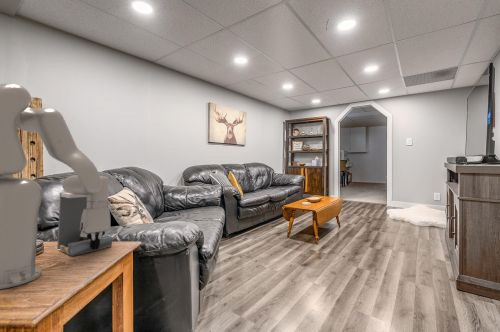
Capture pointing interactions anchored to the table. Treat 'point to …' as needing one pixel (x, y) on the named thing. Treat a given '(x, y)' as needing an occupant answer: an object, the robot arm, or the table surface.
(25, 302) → the table surface
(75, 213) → the upright grey panel
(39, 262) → the table surface
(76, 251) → the long grey base block
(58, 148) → the robot arm
